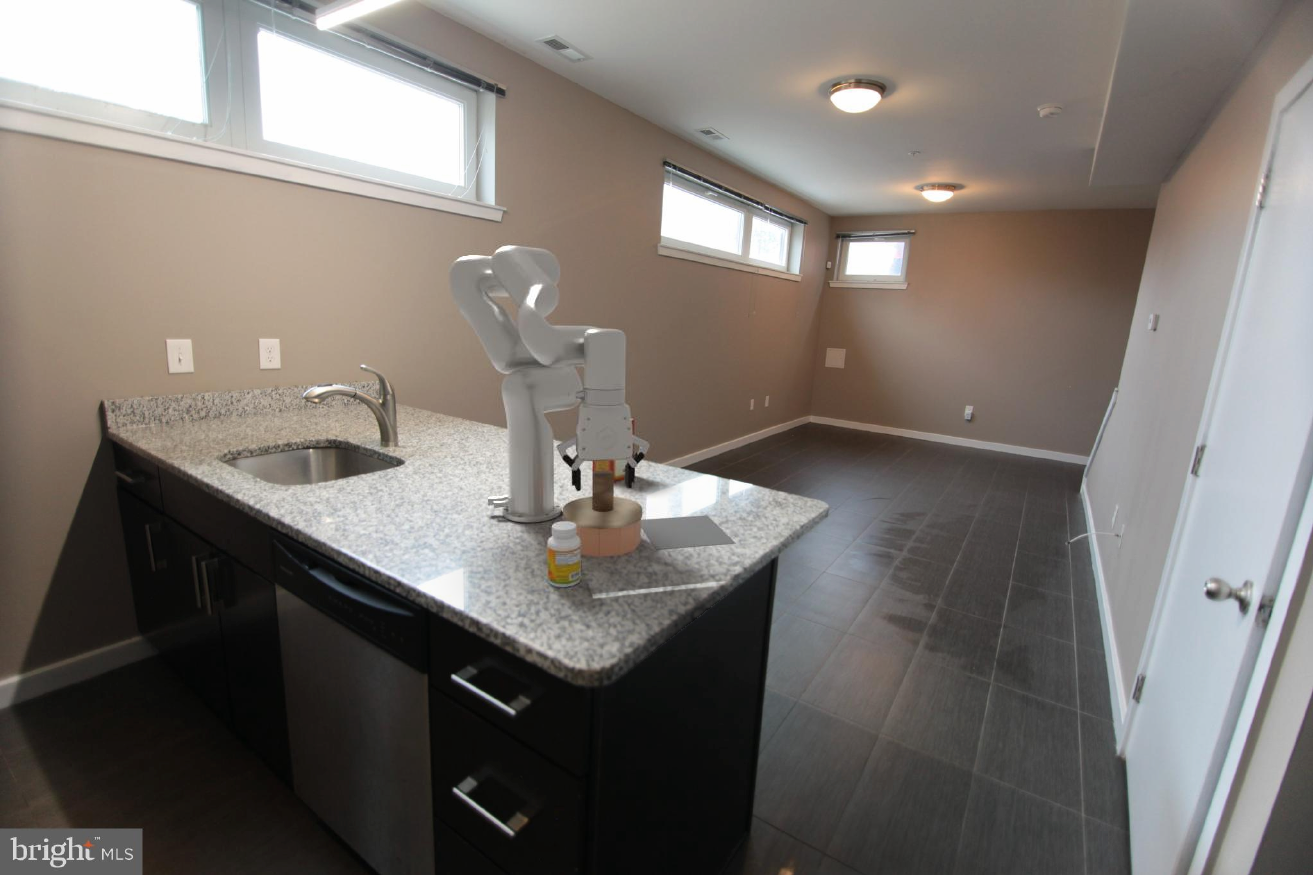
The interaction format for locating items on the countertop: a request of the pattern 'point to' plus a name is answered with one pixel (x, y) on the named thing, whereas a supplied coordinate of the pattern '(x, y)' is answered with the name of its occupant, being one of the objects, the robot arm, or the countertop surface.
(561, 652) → the countertop surface
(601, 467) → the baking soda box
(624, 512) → the lid
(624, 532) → the bowl
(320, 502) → the countertop surface
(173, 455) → the countertop surface
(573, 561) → the supplement bottle
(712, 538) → the mat
